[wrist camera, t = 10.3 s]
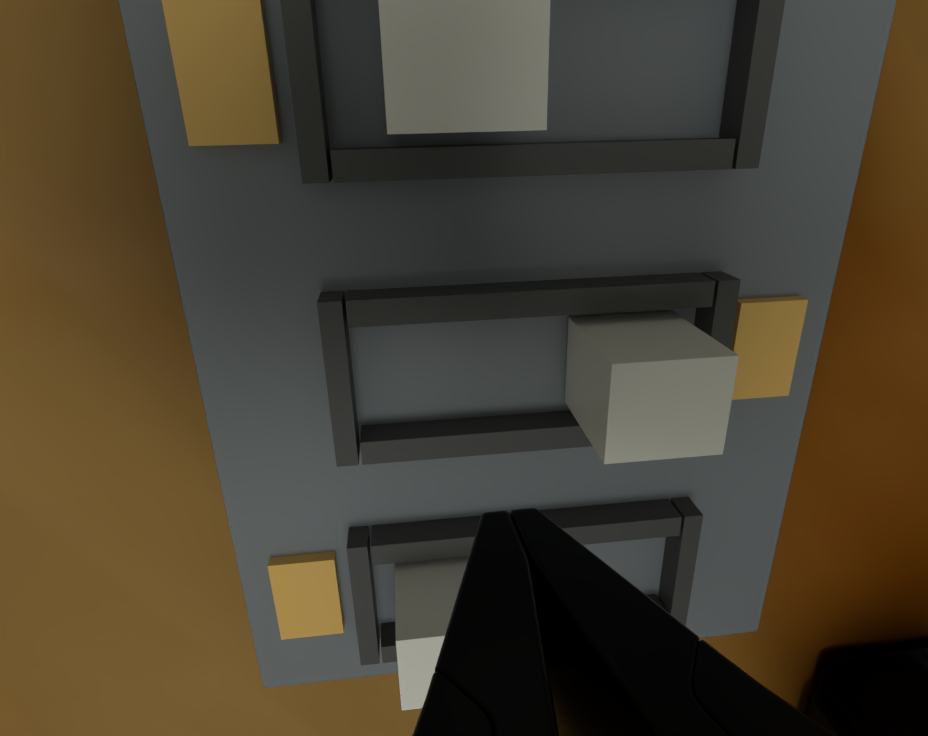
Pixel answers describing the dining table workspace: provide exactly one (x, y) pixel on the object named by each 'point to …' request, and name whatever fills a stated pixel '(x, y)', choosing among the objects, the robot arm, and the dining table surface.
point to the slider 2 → (423, 620)
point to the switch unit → (495, 290)
